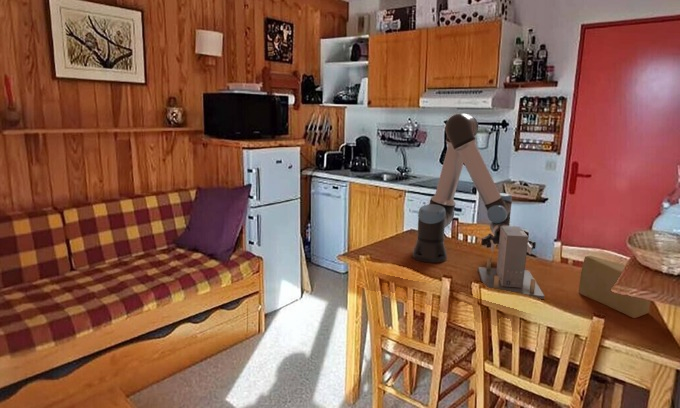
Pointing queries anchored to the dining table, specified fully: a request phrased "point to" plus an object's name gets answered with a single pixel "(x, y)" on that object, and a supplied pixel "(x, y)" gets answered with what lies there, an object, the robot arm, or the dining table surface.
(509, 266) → the hard drive box
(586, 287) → the olive brown block
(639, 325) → the dining table surface
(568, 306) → the dining table surface
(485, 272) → the standoff base
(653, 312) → the dining table surface
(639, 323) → the dining table surface
